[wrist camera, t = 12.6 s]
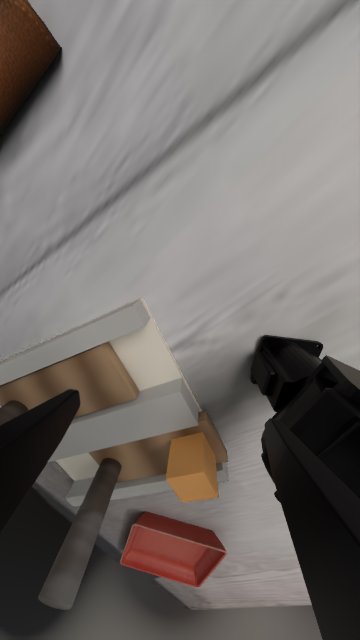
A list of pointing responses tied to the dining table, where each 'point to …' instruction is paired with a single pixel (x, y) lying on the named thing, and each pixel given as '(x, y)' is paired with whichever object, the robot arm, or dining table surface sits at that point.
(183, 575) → the plant saucer
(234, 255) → the dining table surface
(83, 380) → the walnut strip
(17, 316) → the dining table surface
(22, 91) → the sunglasses case
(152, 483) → the lane board
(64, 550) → the walnut strip
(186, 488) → the orange cube
